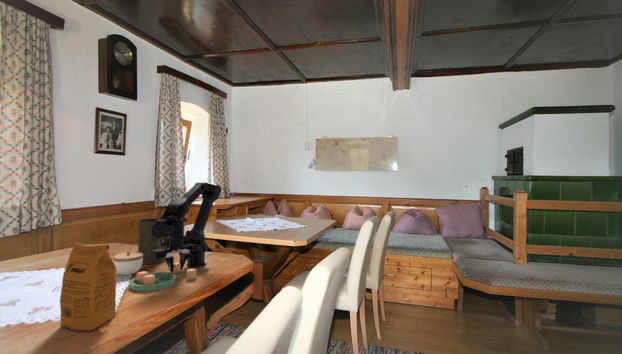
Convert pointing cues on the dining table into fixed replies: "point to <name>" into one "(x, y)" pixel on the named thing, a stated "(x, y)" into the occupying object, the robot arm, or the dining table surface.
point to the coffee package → (88, 288)
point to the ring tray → (161, 282)
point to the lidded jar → (128, 262)
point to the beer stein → (148, 241)
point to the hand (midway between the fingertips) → (176, 271)
